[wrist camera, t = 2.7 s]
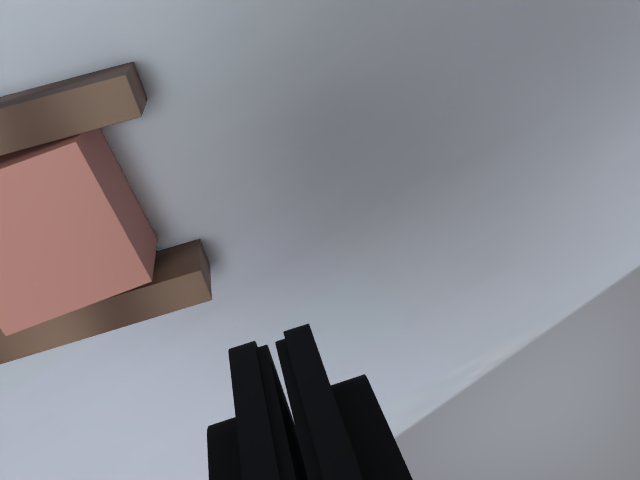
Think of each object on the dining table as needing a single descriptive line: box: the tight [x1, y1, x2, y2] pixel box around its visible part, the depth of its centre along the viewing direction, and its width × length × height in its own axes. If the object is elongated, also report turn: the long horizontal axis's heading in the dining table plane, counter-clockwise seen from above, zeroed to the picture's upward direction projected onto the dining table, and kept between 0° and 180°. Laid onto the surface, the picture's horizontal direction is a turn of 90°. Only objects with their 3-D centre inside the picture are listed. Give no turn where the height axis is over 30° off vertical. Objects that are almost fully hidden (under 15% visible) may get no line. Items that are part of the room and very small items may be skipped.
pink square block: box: [0, 128, 158, 336], centre depth 22 cm, size 6×6×4 cm
